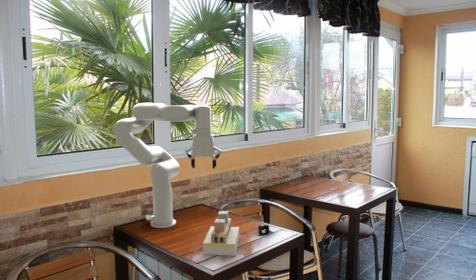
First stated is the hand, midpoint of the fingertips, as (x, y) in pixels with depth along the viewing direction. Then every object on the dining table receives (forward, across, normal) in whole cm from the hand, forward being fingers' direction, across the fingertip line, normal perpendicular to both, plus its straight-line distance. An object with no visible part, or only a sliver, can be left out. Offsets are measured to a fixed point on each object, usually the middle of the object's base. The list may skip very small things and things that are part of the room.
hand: (203, 167), depth 189 cm
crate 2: (+21, +11, -24) cm, 34 cm away
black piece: (+31, +28, -2) cm, 42 cm away
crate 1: (+21, +11, -13) cm, 27 cm away
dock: (+30, +11, -19) cm, 37 cm away
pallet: (+25, +11, -19) cm, 33 cm away
